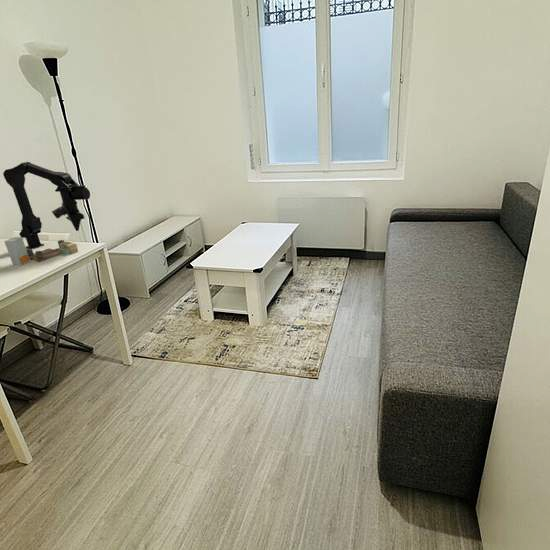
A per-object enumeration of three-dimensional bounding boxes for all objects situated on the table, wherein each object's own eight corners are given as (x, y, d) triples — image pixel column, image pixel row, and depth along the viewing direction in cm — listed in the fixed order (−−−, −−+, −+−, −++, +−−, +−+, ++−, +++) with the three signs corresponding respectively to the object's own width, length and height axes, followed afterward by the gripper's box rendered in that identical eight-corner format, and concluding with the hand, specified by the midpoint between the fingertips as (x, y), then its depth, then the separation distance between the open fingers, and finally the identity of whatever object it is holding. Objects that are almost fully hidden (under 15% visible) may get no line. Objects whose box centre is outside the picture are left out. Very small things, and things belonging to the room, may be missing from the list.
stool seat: (27, 259, 184) (24, 250, 182) (54, 249, 194) (51, 241, 192) (39, 262, 178) (36, 253, 177) (66, 252, 189) (64, 243, 187)
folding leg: (58, 250, 192) (55, 241, 190) (65, 248, 195) (62, 239, 193) (71, 253, 186) (68, 244, 184) (78, 251, 188) (75, 242, 187)
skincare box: (20, 266, 175) (11, 241, 170) (12, 266, 176) (3, 241, 171) (30, 261, 181) (22, 236, 176) (23, 261, 182) (14, 236, 177)
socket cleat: (59, 253, 188) (57, 248, 187) (62, 252, 190) (60, 247, 189) (67, 255, 185) (65, 250, 184) (70, 253, 186) (69, 249, 185)
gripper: (46, 200, 190) (56, 230, 197) (54, 206, 177) (64, 238, 183) (71, 196, 197) (79, 225, 203) (80, 201, 183) (88, 233, 189)
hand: (77, 230), depth 194 cm, fingers closed
